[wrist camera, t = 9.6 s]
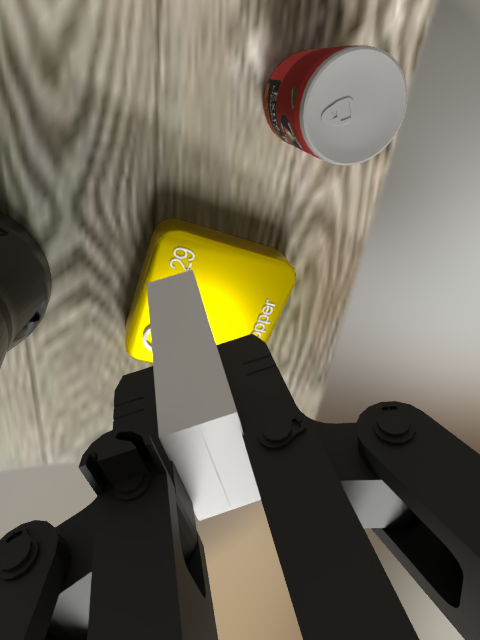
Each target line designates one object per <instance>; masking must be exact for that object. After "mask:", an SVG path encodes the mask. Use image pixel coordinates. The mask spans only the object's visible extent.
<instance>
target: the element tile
mask: <svg viewBox="0 0 480 640" xmlns="http://www.w3.org/2000/svg"><path fill="white" fill-rule="evenodd" d="M192 269H193V272H194V275H195V278H196V281H197V285H198V288H199V291H200V294H201V297H202V300H203V304H204V307H205V310H206V313H207V316H208V320H209V323H210V326H211V329H212V332H213V336H214V339H215V342H216V345H218V344H221V343H224V342H227V341H230V340H233V339H237V338H240V337H243V336H246V335H249V334H254V335H255V336H257V337H258V338H260V339H261V340H263V341H264V342H265V343H266V344H267V342H268V340H269V338H270V336H271V334H272V331H273V329H274V327H275V325H276V323H277V321H278V319H279V317H280V314H281V312H282V310H283V308H284V306H285V304H286V302H287V300H288V297H289V295H290V293H291V291H292V289H293V287H294V284H295V281H296V272H295V270H294V267H293V266H292V265H291V264H290V263H289V261H288V260H287V259H286V258H285V256H284V255H283V254H282V253H281V252H280V251H278V250H276V249H274V248H271V247H268V246H265V245H262V244H258V243H255V242H252V241H249V240H245V239H242V238H239V237H236V236H233V235H229V234H226V233H223V232H220V231H216V230H213V229H210V228H207V227H203V226H200V225H197V224H194V223H191V222H187V221H184V220H181V219H175V218H173V219H166V220H164V221H162V222H160V223H159V224H158V225H157V226H156V227H155V229H154V231H153V233H152V237H151V240H150V243H149V247H148V250H147V253H146V257H145V260H144V264H143V267H142V270H141V274H140V277H139V280H138V284H137V287H136V290H135V294H134V297H133V301H132V304H131V307H130V311H129V314H128V317H127V321H126V327H125V347H126V351H127V353H128V354H129V355H130V356H131V357H132V358H134V359H136V360H138V361H142V362H148V363H153V357H152V345H151V332H150V319H149V307H148V294H147V283H149V282H153V281H156V280H159V279H162V278H166V277H169V276H172V275H176V274H179V273H182V272H186V271H189V270H192Z"/></svg>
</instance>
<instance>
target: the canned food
mask: <svg viewBox="0 0 480 640" xmlns="http://www.w3.org/2000/svg"><path fill="white" fill-rule="evenodd" d="M406 106H407V84H406V79H405V76H404V74H403V71H402V69H401V67H400V66H399V64H398V62H397V61H396V60H395V59H394V58H393V57H392V56H391V55H390V54H388V53H387V52H385V51H383V50H381V49H378V48H375V47H371V46H357V45H356V46H342V47H333V48H323V49H313V50H305V51H301V52H297V53H295V54H293V55H291V56H289V57H288V58H286V59H285V60H284V61H282V62H281V63H280V65H279V66H278V67H277V68H276V69H275V70H274V72H273V74H272V75H271V77H270V79H269V81H268V84H267V86H266V90H265V95H264V111H265V116H266V119H267V122H268V124H269V126H270V128H271V130H272V131H273V132H274V133H275V134H276V135H277V136H278V137H279V138H280V139H282V140H283V141H285V142H287V143H289V144H291V145H293V146H295V147H297V148H299V149H301V150H303V151H305V152H307V153H309V154H311V155H313V156H315V157H317V158H319V159H321V160H324V161H326V162H329V163H332V164H337V165H355V164H359V163H362V162H364V161H367V160H369V159H371V158H373V157H374V156H375V155H377V154H378V153H380V152H381V151H382V150H383V149H384V148H385V147H386V146H387V145H388V144H389V143H390V141H391V140H392V139H393V138H394V136H395V135H396V133H397V131H398V129H399V128H400V126H401V123H402V120H403V118H404V115H405V111H406Z"/></svg>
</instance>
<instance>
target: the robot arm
mask: <svg viewBox="0 0 480 640" xmlns="http://www.w3.org/2000/svg"><path fill="white" fill-rule="evenodd" d="M51 286H52V285H51V274H50V269H49V266H48V263H47V260H46V258H45V256H44V254H43V252H42V250H41V249H40V247H39V246H38V244H37V243H36V242H35V240H34V239H33V238H32V237H31V236H30V234H29V233H28V232H27V231H26V230H25V229H24V228H22V227H21V226H20V225H19V224H18V223H16V222H15V221H14V220H12V219H11V218H9V217H8V216H6V215H5V214H3V213H1V212H0V367H1V365H2V362H3V360H4V358H5V355H6V352H8V351H9V350H11V349H12V348H13V347H15V346H16V345H17V344H19V343H20V342H21V341H23V340H24V339H25V338H27V337H28V336H29V335H30V334H31V333H32V332H33V331H34V330H35V329H36V327H37V326H38V324H39V323H40V322H41V320H42V318H43V316H44V314H45V311H46V308H47V305H48V302H49V299H50V295H51ZM147 294H148V307H149V319H150V332H151V345H152V357H153V366H152V367H149V368H146V369H143V370H140V371H136V372H133V373H130V374H127V375H124V376H123V377H122V379H121V380H120V382H119V384H118V386H117V388H116V389H115V394H114V407H115V409H114V416H113V419H114V421H113V430H112V431H109V432H107V433H105V434H103V435H102V436H101V437H99V438H98V439H97V440H96V441H94V442H93V443H92V444H91V445H90V446H89V448H88V449H87V450H86V452H85V453H84V454H83V456H82V459H81V462H80V465H79V469H80V470H81V472H82V473H83V475H84V476H85V478H86V479H87V481H88V482H89V484H90V485H91V487H92V488H93V490H94V491H95V493H96V494H97V498H96V499H95V500H94V501H93V502H92V503H91V504H90V505H88V506H87V507H86V508H84V509H83V510H82V511H80V512H79V513H77V514H76V515H74V516H73V517H71V518H69V519H68V520H66V521H65V522H63V523H62V524H60V525H59V526H57V527H53V526H52V525H51V524H50V523H48V522H47V521H38V520H34V521H31V522H28V523H25V524H21V525H20V526H18V527H17V528H15V529H13V530H12V531H10V532H8V533H7V534H6V535H5V536H4V537H3V538H2V539H1V540H0V640H218V636H217V629H216V623H215V617H214V610H213V603H212V597H211V591H210V584H209V578H208V572H207V565H206V559H205V553H204V546H203V544H202V541H201V539H200V536H199V534H198V532H197V530H196V524H195V517H194V512H195V514H196V516H197V518H198V520H199V521H200V520H203V519H206V518H209V517H211V516H215V515H218V514H220V513H223V512H226V511H229V510H232V509H235V508H238V507H241V506H243V505H247V504H249V503H252V502H255V501H258V500H261V501H262V504H263V507H264V511H265V514H266V517H267V521H268V524H269V527H270V531H271V534H272V537H273V540H274V544H275V547H276V551H277V554H278V557H279V561H280V564H281V567H282V570H283V574H284V577H285V581H286V584H287V587H288V591H289V594H290V597H291V601H292V603H293V607H294V611H295V614H296V617H297V621H298V624H299V627H300V630H301V634H302V637H303V640H419V638H418V636H417V634H416V632H415V630H414V628H413V626H412V624H411V622H410V620H409V618H408V616H407V614H406V612H405V610H404V608H403V606H402V604H401V602H400V600H399V598H398V596H397V594H396V592H395V590H394V588H393V586H392V584H391V582H390V580H389V578H388V576H387V574H386V572H385V571H384V568H383V566H382V564H381V562H380V560H379V558H378V556H377V554H376V552H375V550H374V548H373V546H372V544H371V542H370V540H369V539H368V536H367V534H366V532H365V530H364V528H372V530H373V531H374V532H375V533H376V535H377V536H378V537H379V538H380V539H381V541H382V542H383V543H384V544H385V545H386V546H387V548H388V549H389V550H390V551H391V552H392V554H393V555H394V556H395V557H396V558H397V559H398V561H399V562H400V563H401V564H402V565H403V567H404V568H405V569H406V570H407V571H408V573H409V574H410V575H411V576H412V577H413V578H414V580H415V581H416V582H417V583H418V584H419V586H420V587H421V588H422V589H423V590H424V591H425V593H426V594H427V595H428V596H429V597H430V599H431V600H432V601H433V602H434V603H435V605H436V606H437V607H438V608H439V609H440V611H441V612H442V613H443V614H444V615H445V616H446V618H447V619H448V620H449V621H450V622H451V624H452V625H453V626H454V627H455V628H456V629H457V631H458V632H459V633H460V634H461V635H462V637H463V638H464V639H465V640H480V454H478V453H477V452H476V451H474V450H473V449H471V448H470V447H469V446H468V445H466V444H465V443H464V442H462V441H461V440H460V439H458V438H457V437H456V436H455V435H453V434H452V433H451V432H449V431H448V430H446V429H445V428H444V427H442V426H441V425H440V424H439V423H437V422H436V421H434V420H433V419H432V418H431V417H429V416H428V415H427V414H425V413H424V412H423V411H421V410H419V409H417V408H415V407H414V406H412V405H410V404H405V403H401V402H396V401H392V402H380V403H378V404H375V405H372V406H370V407H368V408H367V409H366V410H365V411H364V412H362V413H361V414H360V416H359V419H358V421H357V423H342V424H330V423H329V424H328V423H322V422H318V421H315V420H313V419H310V418H308V417H307V416H305V415H304V414H303V413H302V412H301V411H300V410H299V409H298V407H297V406H296V404H295V402H294V400H293V398H292V396H291V394H290V392H289V390H288V388H287V386H286V384H285V382H284V380H283V377H282V375H281V373H280V371H279V369H278V367H277V366H276V363H275V361H274V359H273V357H272V356H271V353H270V351H269V349H268V347H267V345H266V343H265V342H264V341H263V340H261V339H260V338H258V337H257V336H255V335H254V334H249V335H246V336H243V337H240V338H237V339H233V340H230V341H227V342H224V343H221V344H218V345H216V342H215V339H214V336H213V332H212V329H211V326H210V323H209V320H208V316H207V313H206V310H205V307H204V304H203V300H202V297H201V294H200V291H199V288H198V285H197V281H196V278H195V275H194V272H193V269H192V270H189V271H186V272H182V273H179V274H176V275H172V276H169V277H166V278H162V279H159V280H156V281H153V282H149V283H147Z"/></svg>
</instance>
